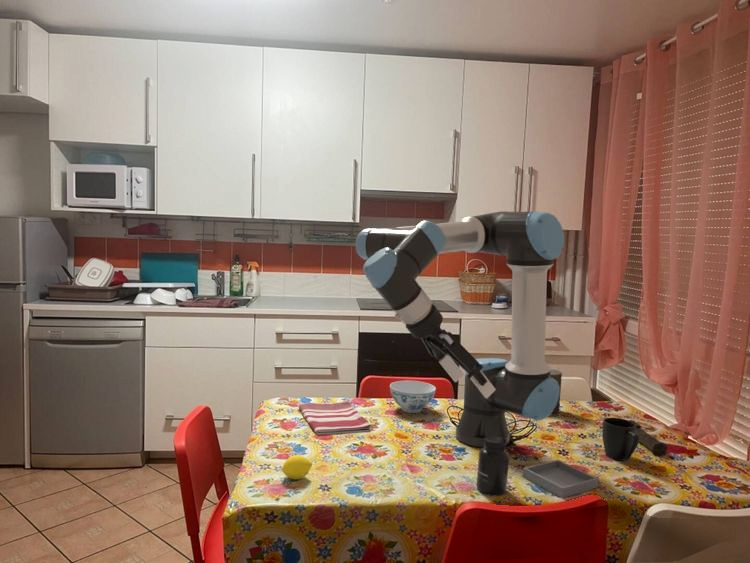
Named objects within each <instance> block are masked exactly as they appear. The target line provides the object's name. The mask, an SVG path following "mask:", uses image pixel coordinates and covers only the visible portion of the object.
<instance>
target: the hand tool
mask: <svg viewBox="0 0 750 563" xmlns="http://www.w3.org/2000/svg"><path fill="white" fill-rule="evenodd" d="M629 421H631V422H633V423H635V424H636V433H637V434H638V435H639V443H641V444H642V445H643V446H644V447H645V448H647V449H648V450H649V451H650V452H651V454H652V455H653V456H655V457H663V456H665V455H666V453H667V450H668V445H667V444H666V443H664V442H661V441H660V440H658V439H657V438H656V437H655V436H652V435H651V434H649V433H648V432H646V431H645V430H644V429H642V425H641V424H638V422H636V421H634V420H633V419H630V420H629Z"/></svg>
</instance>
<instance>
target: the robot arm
mask: <svg viewBox="0 0 750 563" xmlns="http://www.w3.org/2000/svg"><path fill="white" fill-rule="evenodd" d="M564 245H565V233H564V229H563V227H562V223H561V222H560V221H559V219H558V218H557V217H556V216H555V215H554V214H552V213H550V212H545V211H544V212H543V211H537V210H534V211H496V212H495V211H494V212H488V213H485V214H478V215H475V216H466V217H464V218H463V219H461V220H459V221H452V222H451V221H449V222H442V223H441V222H440V223H435V222H432V221H430V220H422V221H420V222H419V223H418V224H417V225H409V226H406V225H405V226H398V227H396V226H395V227H387V228H386V227H385V228H377V227H372V228H364V229H363V230H362V231H360V232H359V233H358V234H357V237H356V240H355V245H354V246H355V250H356V251H355V252H356V254H357V255H358V256H359V257H360V259H362V260H364V261H365V260H366V261H365V263H364V264H363V266H362V272H363V274H364V275H365V277H366V278H367V280H368V281H369V283H370V284H371V287H372V288H374V289H375V290H376V291H377V293H378V294H379V295H380V296H381V298H382V299H383V301H384V302H385V303H386V304H387V305H388V306H389V307H390V309H391V310H392V311H393V313H395V314H394V319H396V320H398V319H399V320H400V321H401V322H402V324H404V325H405V328H406V329H407V331H408V332H409V334H410V335H412V336H413V338H415V339H416V340H419V339H420V340H421V341H422V343H423V345H424V347H425V348H426V350H427V352H428V353H429V355H430V356H431V357H433V358H434V359H435V360H436V361H438V363H439V364H440V365H441V367H442V368H443V369H444V371H445V372H446V373H447V374H448V375H449V377H450V378H451V379H452V381H453V382H454V383H457V382H458V381H459V380H460V379H461V378H462V377H463V376H465V377H464V396H463V408H462V409H463V410H462V412H461V415H460V419H459V420H458V421H459V422H458V424H457V425H456V428H455V438H456V439H457V440H458V441H459V442H461V443H463V444H466V445H469V446H472V447H476V448H481V449H482V448H484V441H485V437H486V436H499V437H502V438H504V439H505V440H506V446H508V444H509V443H510V436H511V435H510V431H509V429H508V424H507V423H508V422H507V418H506V414H505V413H506V412H508V413H511V414H514V415H517V416H520V417H523V418H524V419H527V420H528V419H530V420H533V421H543V420H545V419H547V418H548V417H549V416H551V415H550V414H551V413H552V411H553V409H554V408H555V406H556V404H557V402H558V398H559V393H560V387H559V384H558V382H557V381H556V380H555V379H554V378H550V371H551V369H552V368H551V366H550V365H549V364H548V363H547V362H546V325H547V324H546V323H547V319H546V318H547V287H548V285H547V283H548V282H547V281H548V280H547V278H548V270H550V269H551V268H552V267H553V266H554V260H555V259H557V258H559V256H560V255H561V254H562V250H563V249H564ZM462 251H464V252H466V253H468V254H475V253H482V254H483V253H484V254H491V255H497V256H504V257H505V256H506V265H507V267H508V268H510V270H511V271H512V275H511V276H512V279H511V281H512V282H511V283H512V284H511V286H512V287H511V339H510V340H511V343H510V344H511V346H510V354H511V355H510V360H509V361H508V360H507V359H503V358H496V357H491V358H490V357H485V358H475V357H474V356H473V355H472V354H471V353H470V352H469V351H468V350H467V349H466V347H464V346H463V344H462V343H460V342H459V341H458V340H457V339H456V337H455V336H454V335H453V333H452V332H450V331H446V330H445V329H444V328H443V329H442V328H441V325H442V323H443V320H444V316H443V315H442V313H441V312H440V311H439V309H438V308H437V307H436V305H435V304H433V301H432V300H431V298H430V297H429V295H428V294H427V293H426V292H425V290H423V288H422V286H420V285H419V283H418V281H417V280H416V279H417V278H418V277H419V276H420V275H421V274H422V273H423V271H424V270H425V269H426V268H427V267H428V266H429V265H430V264H431V263H432V262H433V261H434V260H435V259H436V258H437V257H438V256H439V254H447V253H453V252H462ZM459 366H460V367H459ZM460 368H462V370H464V371H465V374H464V372H463V371H462V370H461V369H460ZM560 394H561V393H560Z"/></svg>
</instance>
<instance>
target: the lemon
mask: <svg viewBox="0 0 750 563" xmlns="http://www.w3.org/2000/svg"><path fill="white" fill-rule="evenodd" d="M312 465H313V463H312V462H311V461H310V460H309V459H308V458H307V457H305V456H304V455H302V454H301V455H299V454H296V455H294V454H293V455H291V456H290V457H288V458H287V459H286V460H285V462H284V463H283V465H282V468H281V471H282V472H283V474H284V475H285V476H286V477H287V478H288V479H291V480H295V481H296V480H300V479H303V478H305V477H306V476H307V475H308V474H309V472H310V470H311V468H312Z"/></svg>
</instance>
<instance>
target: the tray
mask: <svg viewBox="0 0 750 563" xmlns="http://www.w3.org/2000/svg"><path fill="white" fill-rule="evenodd" d="M521 476H522V477H523V478H524V479H526V480H527V481H530V482H532V483H534V484H535V485H537V486H539V487H540V488H543V489H544V490H547V491H549V492H550V493H552V494H554V495H555V496H558V497H559V498H567V497H569V496H570V497H571V496H574V495H576V494H580V493H584V492H587V491H591V490H594V489H593V488H595V489H597V488H596V487H599V477H595V476H593V475H591V474H590V473H587V472H585V471H582V470H580V469H579V468H577V467H574V466H572V465H570V464H569V463H566V462H564V461H562V460H560V459H554V460H551V461H547V462H542V463H538V464H533V465H530V466H525V467H523V468H522V475H521Z"/></svg>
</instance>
